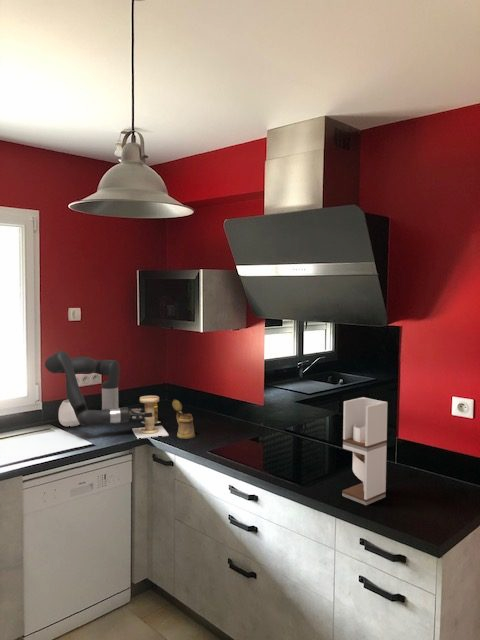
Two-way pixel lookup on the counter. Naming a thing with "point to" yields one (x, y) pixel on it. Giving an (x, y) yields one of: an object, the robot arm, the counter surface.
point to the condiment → (155, 413)
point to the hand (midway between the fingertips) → (150, 412)
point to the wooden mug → (183, 422)
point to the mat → (140, 435)
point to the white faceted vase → (67, 414)
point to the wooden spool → (149, 408)
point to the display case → (366, 447)
